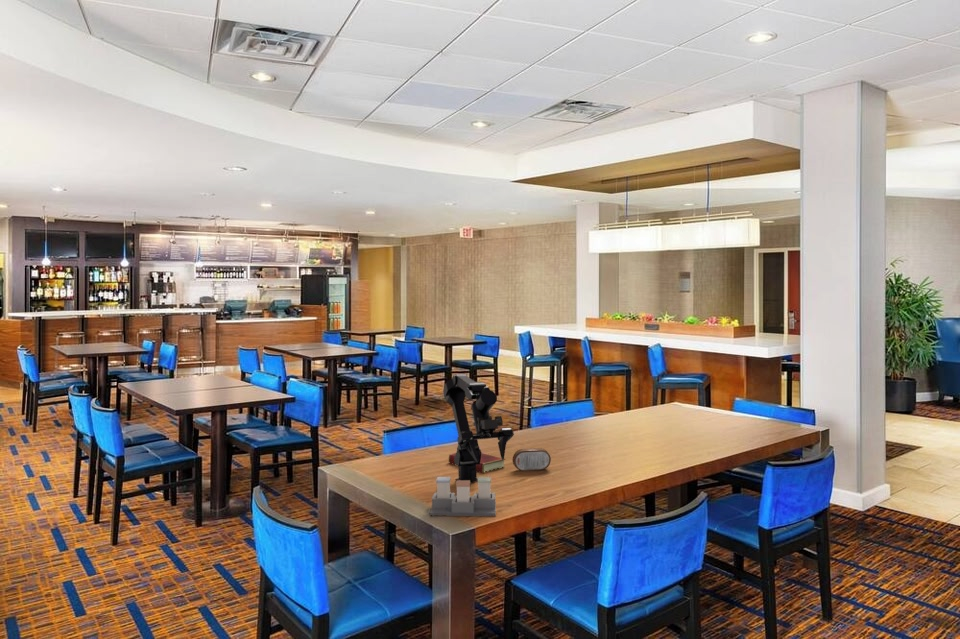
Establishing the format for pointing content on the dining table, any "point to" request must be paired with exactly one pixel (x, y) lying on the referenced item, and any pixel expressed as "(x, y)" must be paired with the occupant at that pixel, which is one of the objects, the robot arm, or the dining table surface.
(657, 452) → the dining table surface
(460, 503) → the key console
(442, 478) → the grey upright block
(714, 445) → the dining table surface
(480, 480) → the key
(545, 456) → the tin
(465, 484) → the key
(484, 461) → the hardcover book
